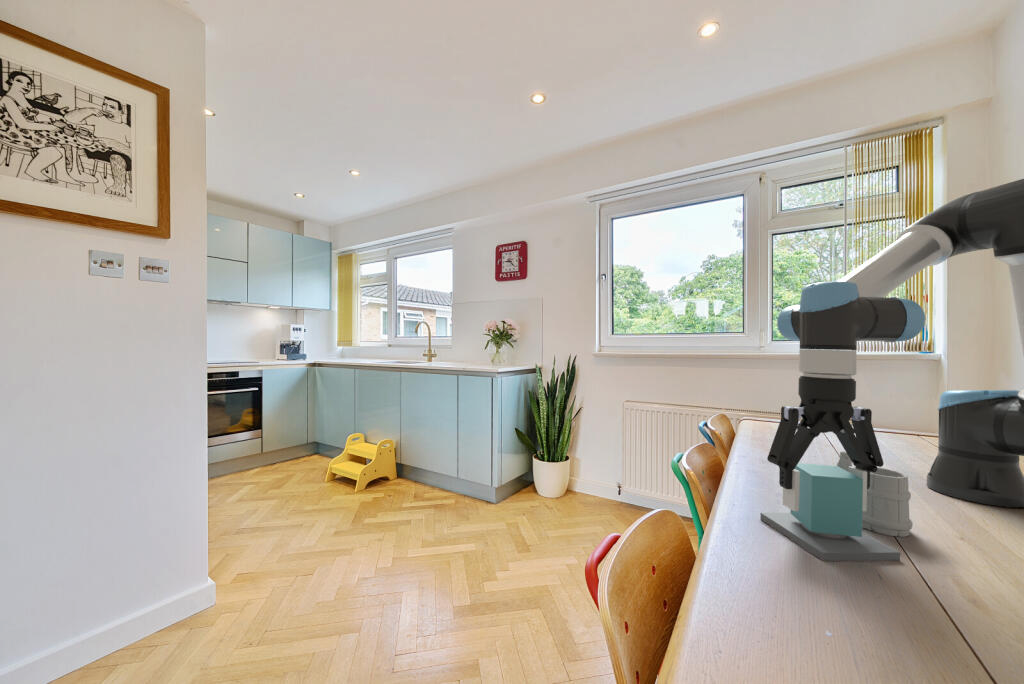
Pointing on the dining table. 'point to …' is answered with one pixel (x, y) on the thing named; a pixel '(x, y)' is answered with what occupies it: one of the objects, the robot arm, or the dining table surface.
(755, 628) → the dining table surface
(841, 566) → the dining table surface
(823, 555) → the post board
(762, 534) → the dining table surface
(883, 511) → the mug
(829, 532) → the teal block
